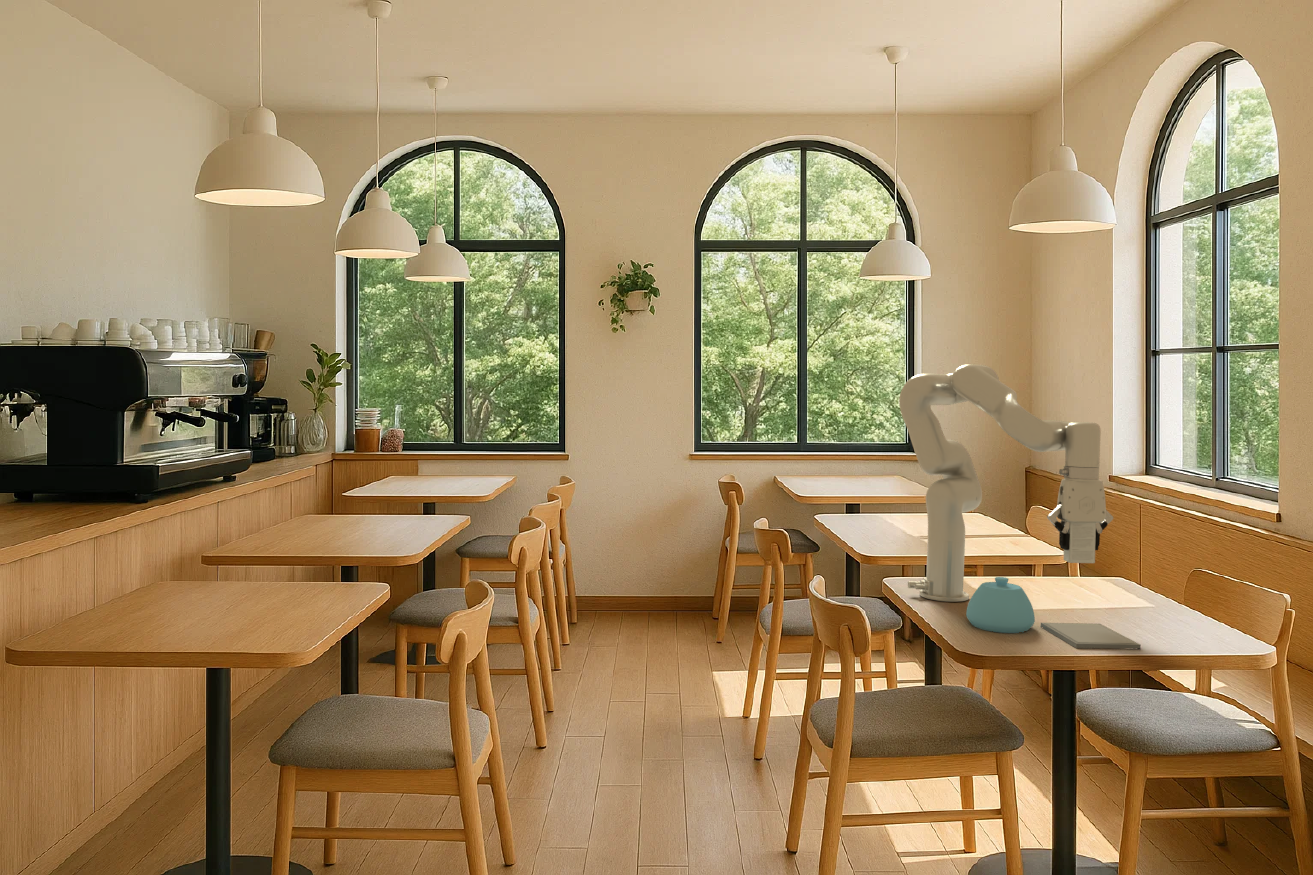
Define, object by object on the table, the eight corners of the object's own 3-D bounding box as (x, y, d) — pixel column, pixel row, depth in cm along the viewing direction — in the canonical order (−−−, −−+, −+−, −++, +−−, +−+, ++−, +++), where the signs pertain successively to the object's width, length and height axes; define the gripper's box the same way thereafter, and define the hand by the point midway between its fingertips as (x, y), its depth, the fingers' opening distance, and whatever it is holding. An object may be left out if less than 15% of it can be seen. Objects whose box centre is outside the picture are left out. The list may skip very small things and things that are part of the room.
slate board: (1076, 648, 202) (1076, 643, 202) (1040, 626, 220) (1040, 622, 220) (1140, 649, 202) (1140, 644, 202) (1099, 627, 220) (1099, 623, 220)
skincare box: (1088, 560, 226) (1089, 510, 225) (1095, 563, 221) (1097, 513, 221) (1062, 559, 226) (1063, 510, 225) (1068, 563, 222) (1070, 512, 221)
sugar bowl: (952, 621, 224) (954, 573, 223) (1002, 616, 230) (1004, 569, 229) (996, 637, 210) (999, 586, 209) (1048, 632, 216) (1050, 582, 215)
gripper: (1053, 475, 218) (1051, 551, 219) (1125, 475, 219) (1123, 552, 220) (1038, 472, 226) (1036, 546, 227) (1108, 473, 227) (1106, 546, 228)
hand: (1079, 548), depth 223 cm, fingers closed on skincare box, 6 cm apart
